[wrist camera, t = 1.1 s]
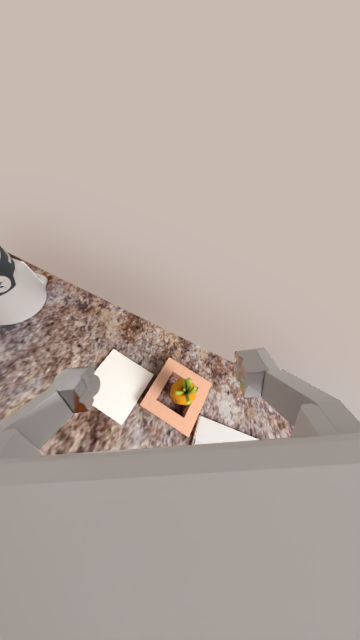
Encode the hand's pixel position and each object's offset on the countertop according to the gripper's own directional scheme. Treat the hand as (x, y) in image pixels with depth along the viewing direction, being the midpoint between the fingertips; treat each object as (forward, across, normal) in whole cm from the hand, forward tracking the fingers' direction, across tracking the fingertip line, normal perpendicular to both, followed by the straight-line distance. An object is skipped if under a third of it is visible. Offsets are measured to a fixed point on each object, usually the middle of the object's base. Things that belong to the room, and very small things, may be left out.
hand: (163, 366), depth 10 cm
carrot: (+20, +4, +29) cm, 35 cm away
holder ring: (+20, +4, +29) cm, 35 cm away
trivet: (+20, +17, +24) cm, 35 cm away
